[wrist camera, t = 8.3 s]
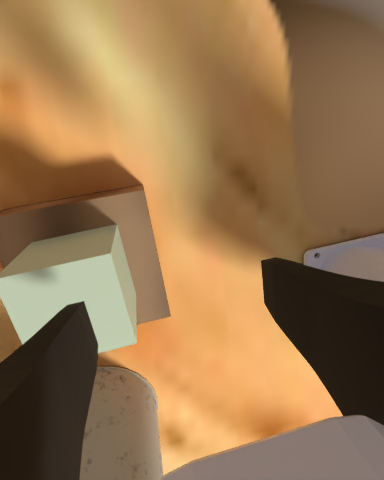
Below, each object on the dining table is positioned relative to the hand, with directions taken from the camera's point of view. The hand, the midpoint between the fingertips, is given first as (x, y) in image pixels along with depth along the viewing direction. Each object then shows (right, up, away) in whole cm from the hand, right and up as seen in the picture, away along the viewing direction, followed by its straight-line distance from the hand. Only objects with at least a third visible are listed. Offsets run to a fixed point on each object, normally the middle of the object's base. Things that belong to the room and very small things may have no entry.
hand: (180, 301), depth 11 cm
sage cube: (-6, +1, +7) cm, 9 cm away
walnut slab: (-7, +1, +9) cm, 11 cm away
